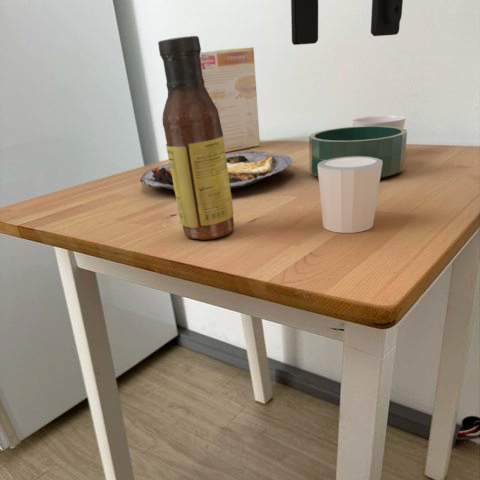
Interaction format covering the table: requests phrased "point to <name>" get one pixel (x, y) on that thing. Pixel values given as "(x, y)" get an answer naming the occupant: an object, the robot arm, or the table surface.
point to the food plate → (230, 169)
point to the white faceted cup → (349, 192)
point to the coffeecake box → (233, 94)
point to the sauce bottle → (195, 143)
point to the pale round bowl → (380, 121)
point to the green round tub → (360, 146)
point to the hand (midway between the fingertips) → (342, 39)
